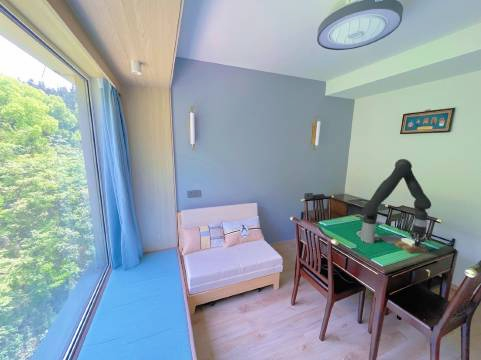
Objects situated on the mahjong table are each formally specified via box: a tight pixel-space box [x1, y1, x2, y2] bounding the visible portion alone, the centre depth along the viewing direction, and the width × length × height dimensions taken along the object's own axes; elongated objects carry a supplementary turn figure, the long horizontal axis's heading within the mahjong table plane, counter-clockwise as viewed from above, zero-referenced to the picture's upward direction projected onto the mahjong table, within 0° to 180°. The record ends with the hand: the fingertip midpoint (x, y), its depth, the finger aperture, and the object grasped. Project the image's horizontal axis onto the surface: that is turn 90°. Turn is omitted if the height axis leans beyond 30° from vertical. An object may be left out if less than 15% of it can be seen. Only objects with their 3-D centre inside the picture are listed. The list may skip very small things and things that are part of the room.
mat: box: [376, 234, 403, 245], centre depth 167 cm, size 14×20×1 cm
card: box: [401, 237, 415, 246], centre depth 151 cm, size 9×6×2 cm, turn 4°
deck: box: [394, 240, 429, 254], centre depth 151 cm, size 14×14×4 cm
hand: (417, 246), depth 146 cm, fingers closed
